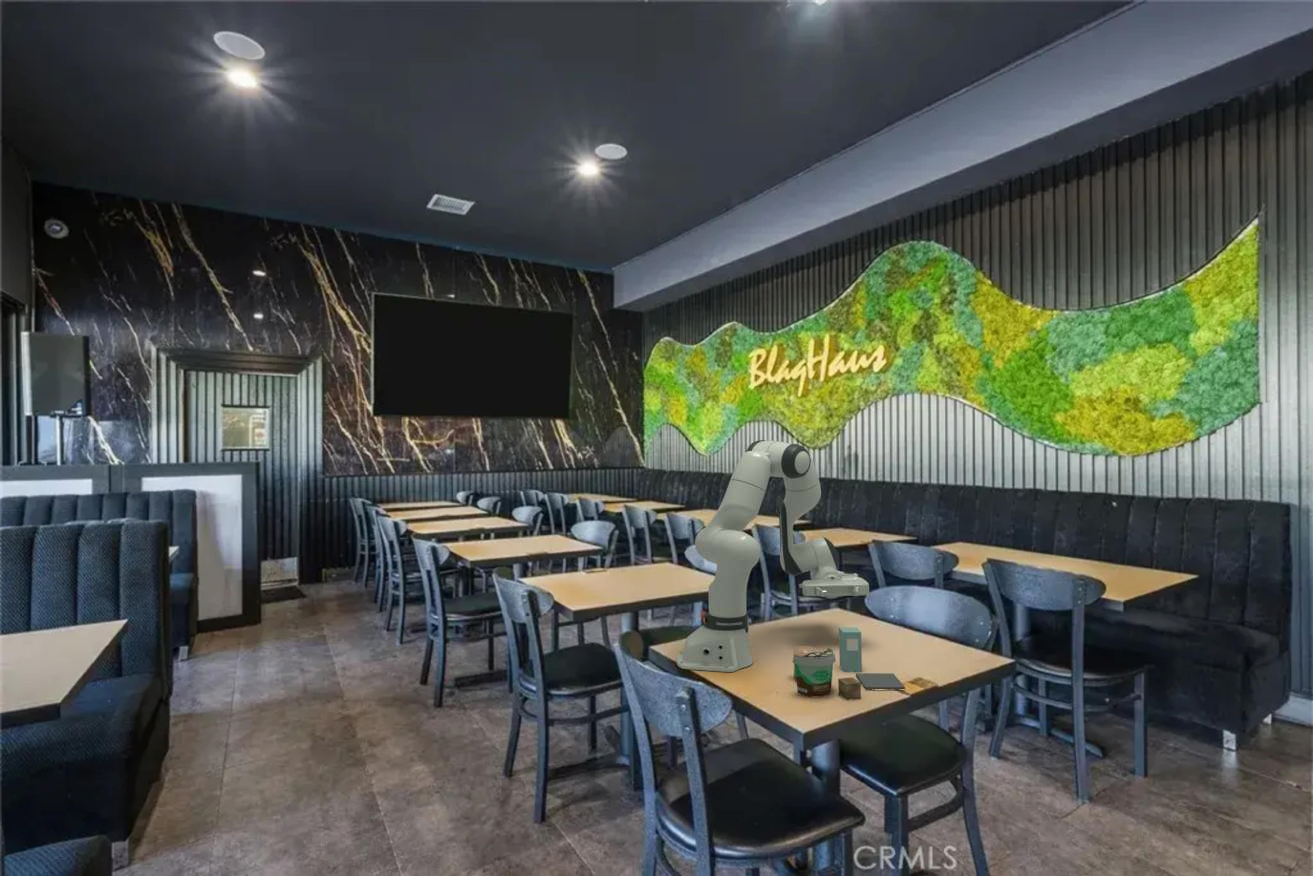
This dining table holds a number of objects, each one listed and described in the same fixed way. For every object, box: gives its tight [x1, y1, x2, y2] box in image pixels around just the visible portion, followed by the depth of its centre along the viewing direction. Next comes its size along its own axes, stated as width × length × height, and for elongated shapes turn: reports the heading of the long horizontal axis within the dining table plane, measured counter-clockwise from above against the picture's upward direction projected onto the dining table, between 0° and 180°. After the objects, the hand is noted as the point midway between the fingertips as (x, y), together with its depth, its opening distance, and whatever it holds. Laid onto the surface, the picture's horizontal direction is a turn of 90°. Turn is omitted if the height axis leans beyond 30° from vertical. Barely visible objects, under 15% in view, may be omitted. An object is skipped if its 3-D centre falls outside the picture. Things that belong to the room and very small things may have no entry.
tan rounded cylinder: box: [793, 645, 817, 682], centre depth 175 cm, size 6×6×8 cm
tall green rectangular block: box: [838, 626, 863, 673], centre depth 183 cm, size 5×5×11 cm
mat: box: [855, 672, 906, 691], centre depth 171 cm, size 10×10×1 cm
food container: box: [792, 647, 837, 697], centre depth 165 cm, size 12×6×10 cm, turn 117°
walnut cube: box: [837, 676, 862, 701], centre depth 163 cm, size 4×4×4 cm
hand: (840, 593), depth 195 cm, fingers open, 8 cm apart
